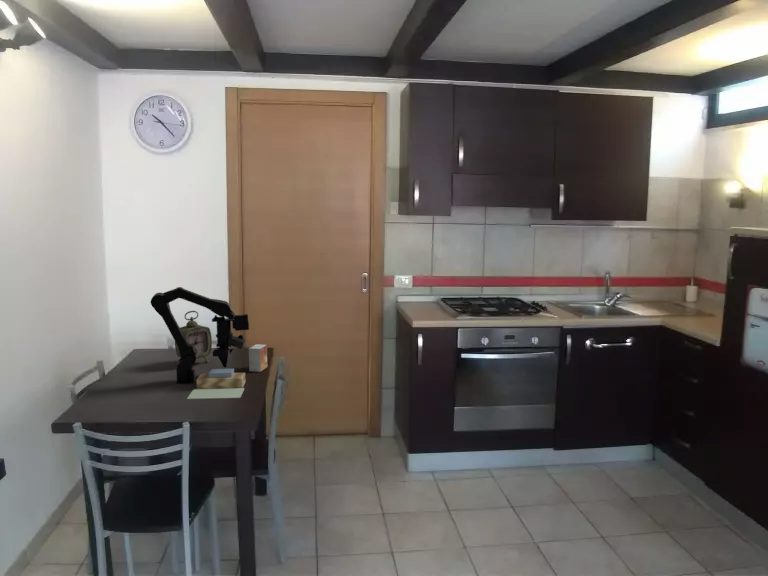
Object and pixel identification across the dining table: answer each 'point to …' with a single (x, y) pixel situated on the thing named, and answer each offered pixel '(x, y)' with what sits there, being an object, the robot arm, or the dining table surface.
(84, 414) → the dining table surface
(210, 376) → the slate blue board
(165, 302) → the robot arm
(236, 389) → the mat
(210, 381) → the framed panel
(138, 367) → the dining table surface
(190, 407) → the dining table surface
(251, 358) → the small box
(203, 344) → the tabletop clock
